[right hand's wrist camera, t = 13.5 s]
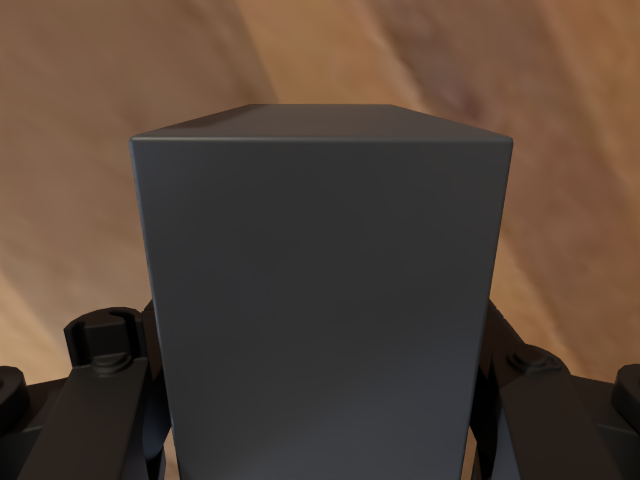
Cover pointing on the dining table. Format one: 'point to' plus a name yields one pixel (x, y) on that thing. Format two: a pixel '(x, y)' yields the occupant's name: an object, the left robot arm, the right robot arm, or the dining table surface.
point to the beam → (320, 287)
